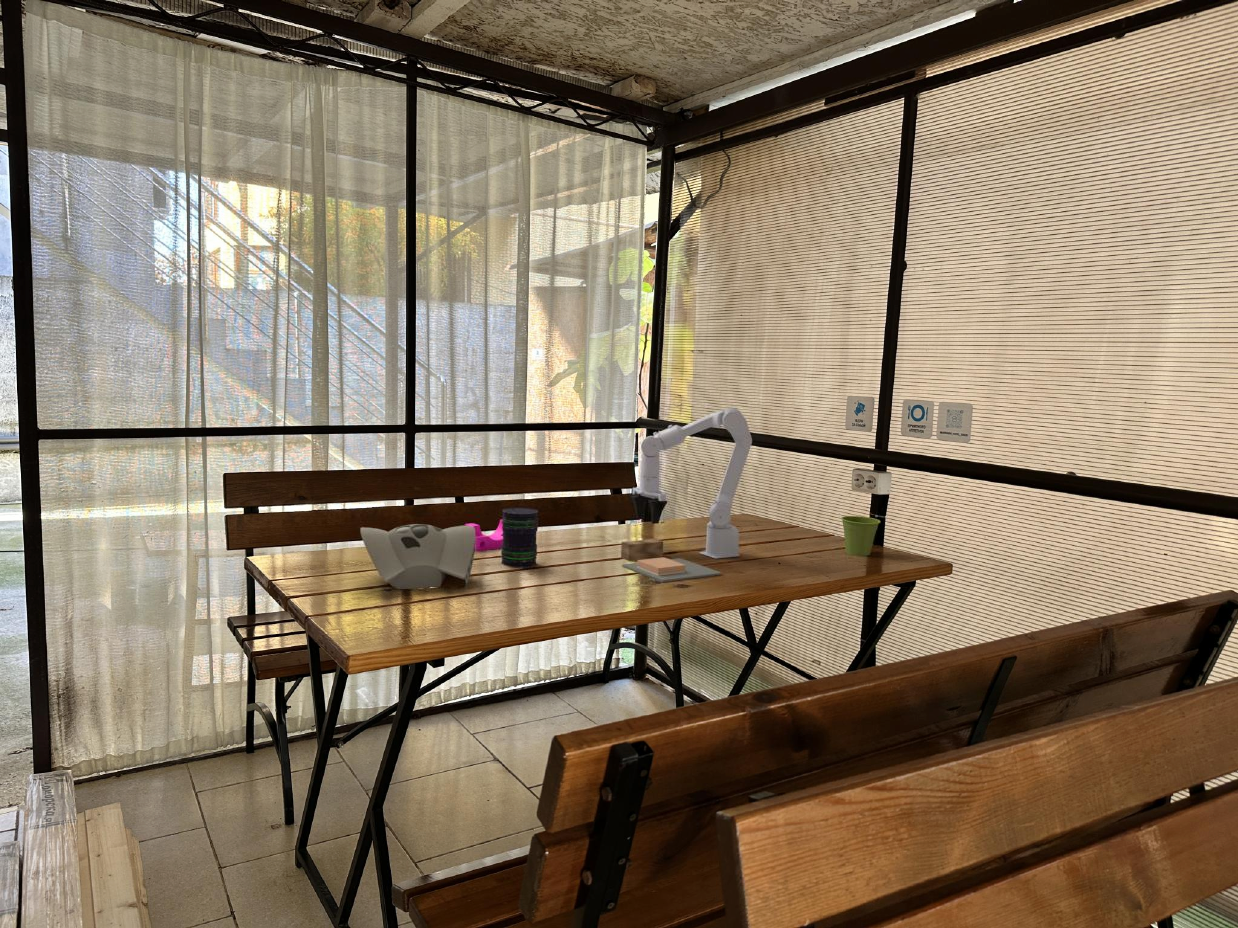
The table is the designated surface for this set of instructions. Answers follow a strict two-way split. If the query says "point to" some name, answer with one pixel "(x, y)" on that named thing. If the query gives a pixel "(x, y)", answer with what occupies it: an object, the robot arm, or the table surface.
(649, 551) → the brown wooden block
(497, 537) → the toy block
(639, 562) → the tile
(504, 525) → the storage jar
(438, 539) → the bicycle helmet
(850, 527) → the plant pot
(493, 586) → the table surface
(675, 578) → the slate mat
